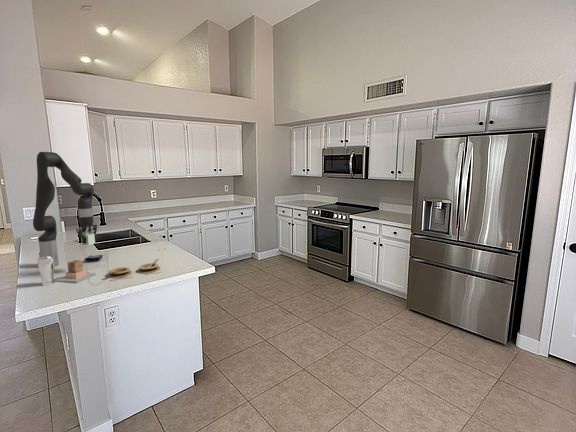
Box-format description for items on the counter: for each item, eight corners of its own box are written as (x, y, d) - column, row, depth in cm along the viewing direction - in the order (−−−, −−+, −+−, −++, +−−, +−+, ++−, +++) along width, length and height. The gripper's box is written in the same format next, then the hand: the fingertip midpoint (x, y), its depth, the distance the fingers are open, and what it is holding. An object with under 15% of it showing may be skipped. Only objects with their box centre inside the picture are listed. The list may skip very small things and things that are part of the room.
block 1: (68, 272, 180) (67, 262, 179) (75, 269, 185) (74, 260, 184) (75, 273, 179) (74, 263, 178) (83, 270, 184) (82, 260, 183)
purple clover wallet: (84, 258, 212) (89, 254, 222) (84, 262, 212) (89, 259, 222) (99, 256, 214) (103, 253, 225) (99, 261, 215) (104, 257, 225)
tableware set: (158, 265, 209) (157, 256, 208) (163, 273, 192) (162, 264, 191) (107, 272, 194) (106, 263, 193) (107, 282, 177) (106, 272, 176)
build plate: (55, 281, 177) (54, 274, 176) (76, 273, 191) (75, 267, 190) (76, 283, 174) (75, 276, 174) (96, 274, 188) (95, 268, 187)
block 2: (81, 244, 192) (80, 235, 191) (88, 242, 197) (87, 233, 196) (88, 245, 191) (87, 235, 190) (95, 243, 196) (94, 233, 195)
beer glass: (59, 281, 177) (56, 256, 175) (50, 285, 170) (47, 259, 168) (46, 281, 177) (43, 256, 174) (37, 286, 170) (33, 259, 168)
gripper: (90, 213, 199) (92, 239, 202) (70, 217, 185) (73, 244, 188) (100, 214, 198) (102, 240, 200) (81, 217, 184) (84, 245, 186)
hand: (88, 242), depth 194 cm, fingers closed on block 2, 5 cm apart
